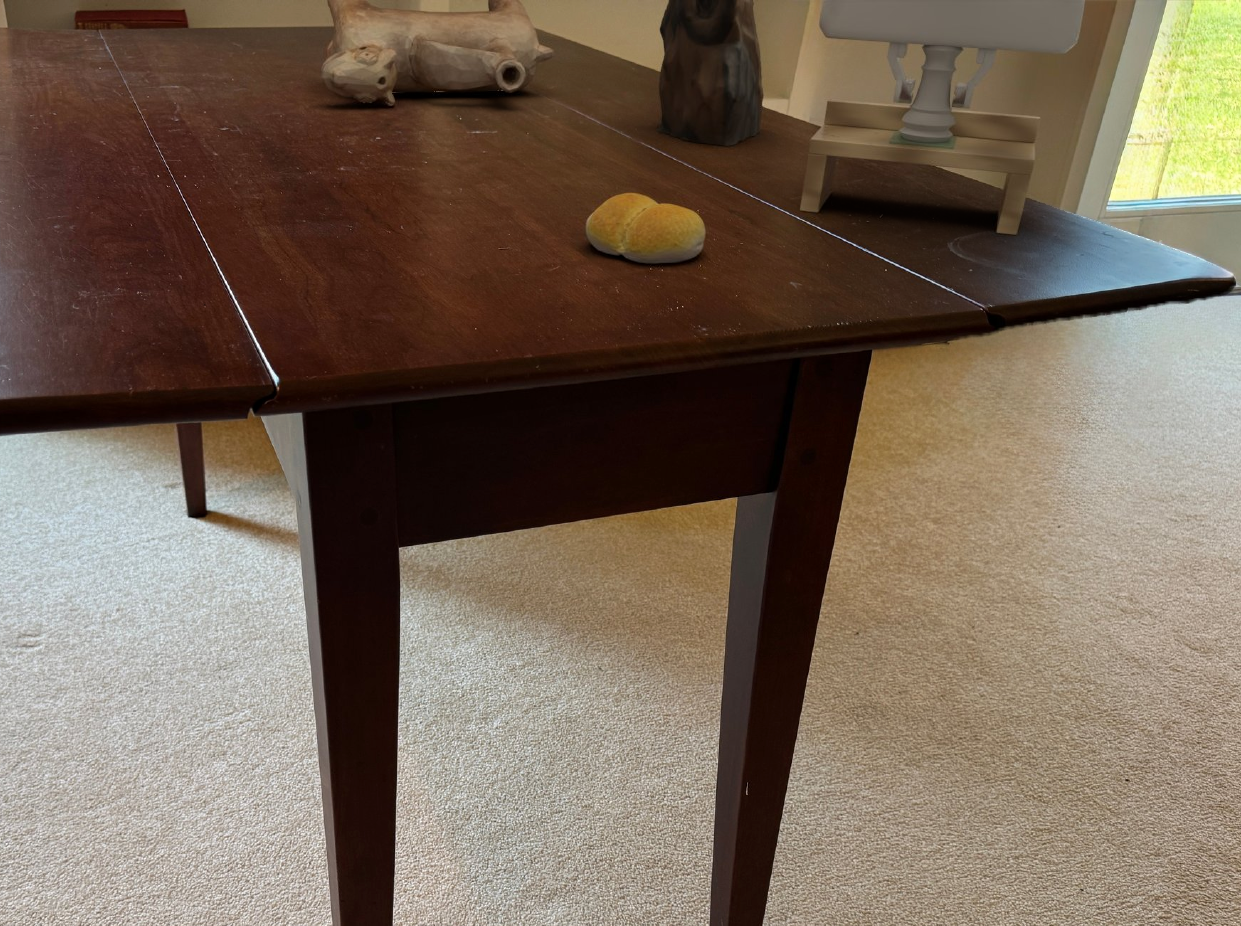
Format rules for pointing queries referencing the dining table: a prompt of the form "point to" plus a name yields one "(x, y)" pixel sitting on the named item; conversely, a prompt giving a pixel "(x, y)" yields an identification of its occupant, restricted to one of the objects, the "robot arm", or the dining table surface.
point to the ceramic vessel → (429, 50)
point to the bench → (924, 150)
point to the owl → (710, 71)
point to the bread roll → (645, 230)
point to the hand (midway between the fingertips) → (930, 105)
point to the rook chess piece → (932, 98)
